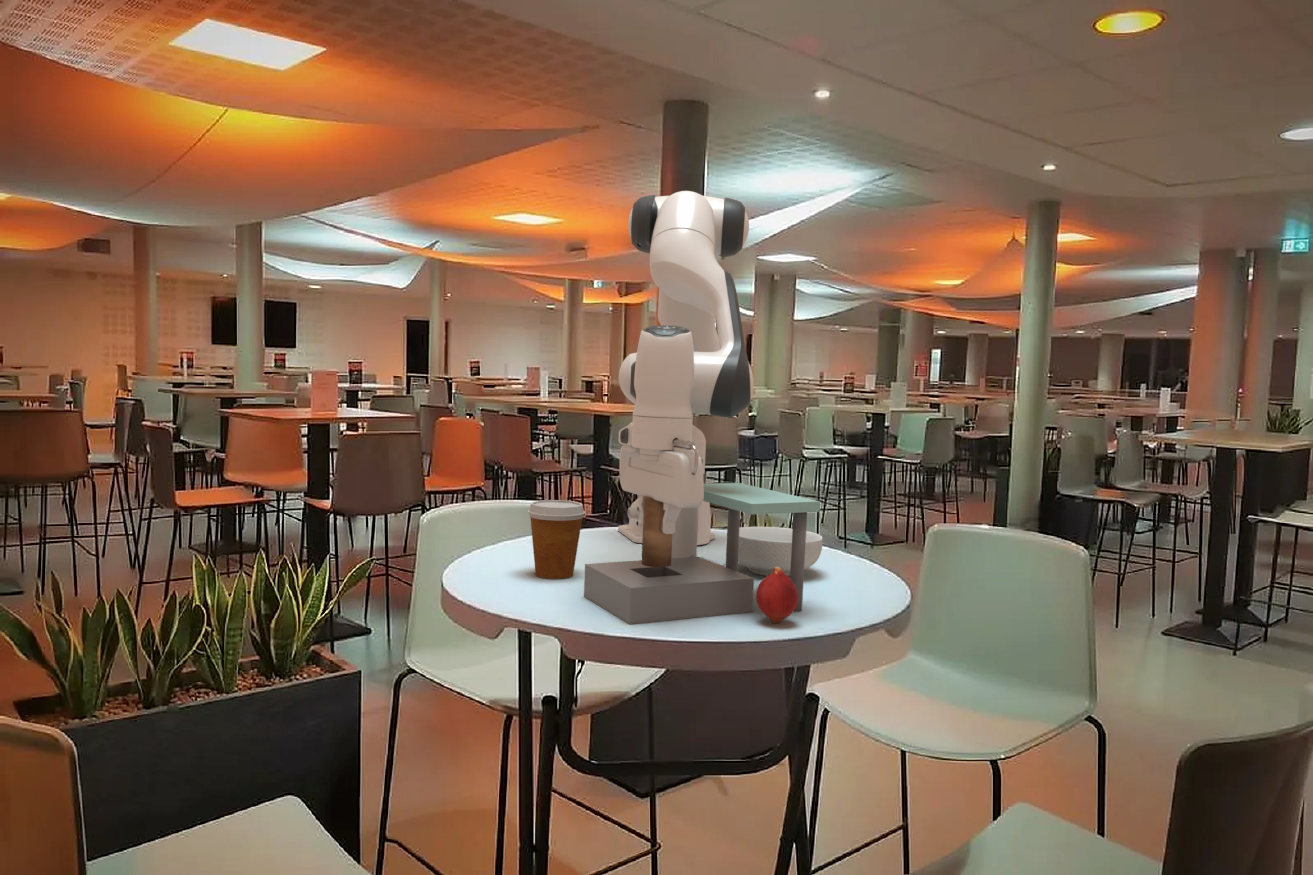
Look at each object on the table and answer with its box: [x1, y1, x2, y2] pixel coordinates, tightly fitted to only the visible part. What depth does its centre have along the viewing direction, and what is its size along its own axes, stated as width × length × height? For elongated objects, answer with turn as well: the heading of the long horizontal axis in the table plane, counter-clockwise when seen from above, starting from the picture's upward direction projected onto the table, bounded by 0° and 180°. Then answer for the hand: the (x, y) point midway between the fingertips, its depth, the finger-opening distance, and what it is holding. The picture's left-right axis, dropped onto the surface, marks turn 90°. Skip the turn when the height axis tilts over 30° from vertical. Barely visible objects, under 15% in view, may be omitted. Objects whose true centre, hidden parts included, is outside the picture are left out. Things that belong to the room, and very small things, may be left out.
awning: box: [703, 482, 821, 612], centre depth 140 cm, size 22×12×16 cm, turn 27°
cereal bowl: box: [738, 526, 824, 577], centre depth 160 cm, size 17×17×7 cm
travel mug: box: [671, 459, 703, 558], centre depth 155 cm, size 6×7×20 cm
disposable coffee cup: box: [527, 499, 586, 580], centre depth 150 cm, size 10×10×12 cm
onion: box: [755, 567, 798, 624], centre depth 126 cm, size 6×6×8 cm
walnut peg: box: [641, 496, 672, 567], centre depth 133 cm, size 4×4×10 cm
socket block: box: [583, 556, 755, 625], centre depth 134 cm, size 16×20×5 cm
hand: (657, 529), depth 133 cm, fingers closed on walnut peg, 4 cm apart
